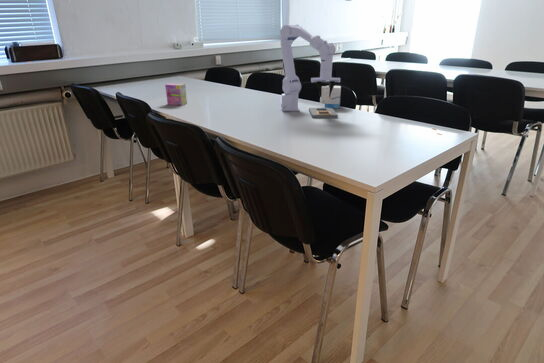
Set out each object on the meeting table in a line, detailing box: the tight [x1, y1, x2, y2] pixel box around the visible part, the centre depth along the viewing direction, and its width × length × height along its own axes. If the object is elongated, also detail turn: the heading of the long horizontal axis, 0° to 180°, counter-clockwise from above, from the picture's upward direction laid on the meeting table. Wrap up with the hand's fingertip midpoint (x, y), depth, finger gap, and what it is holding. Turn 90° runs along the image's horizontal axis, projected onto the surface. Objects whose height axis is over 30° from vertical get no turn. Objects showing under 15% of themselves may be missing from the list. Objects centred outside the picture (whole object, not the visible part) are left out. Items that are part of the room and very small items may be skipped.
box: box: [164, 82, 188, 106], centre depth 224 cm, size 10×6×12 cm, turn 68°
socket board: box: [308, 107, 339, 119], centre depth 200 cm, size 13×18×2 cm
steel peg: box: [319, 85, 330, 104], centre depth 193 cm, size 4×4×8 cm
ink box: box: [324, 85, 342, 110], centre depth 216 cm, size 8×8×12 cm
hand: (324, 96), depth 193 cm, fingers closed on steel peg, 4 cm apart
